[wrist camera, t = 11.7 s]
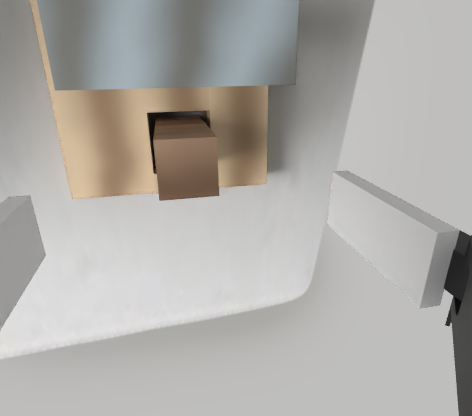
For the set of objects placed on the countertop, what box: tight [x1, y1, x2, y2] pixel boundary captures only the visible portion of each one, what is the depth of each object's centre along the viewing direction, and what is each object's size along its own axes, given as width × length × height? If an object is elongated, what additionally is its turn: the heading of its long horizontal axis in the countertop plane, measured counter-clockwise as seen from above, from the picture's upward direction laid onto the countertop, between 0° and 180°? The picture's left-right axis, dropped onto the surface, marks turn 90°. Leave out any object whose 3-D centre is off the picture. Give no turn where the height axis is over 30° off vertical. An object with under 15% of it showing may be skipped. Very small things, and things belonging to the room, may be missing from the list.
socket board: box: [30, 0, 299, 199], centre depth 26 cm, size 18×16×12 cm
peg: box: [153, 115, 219, 201], centre depth 27 cm, size 4×4×12 cm
